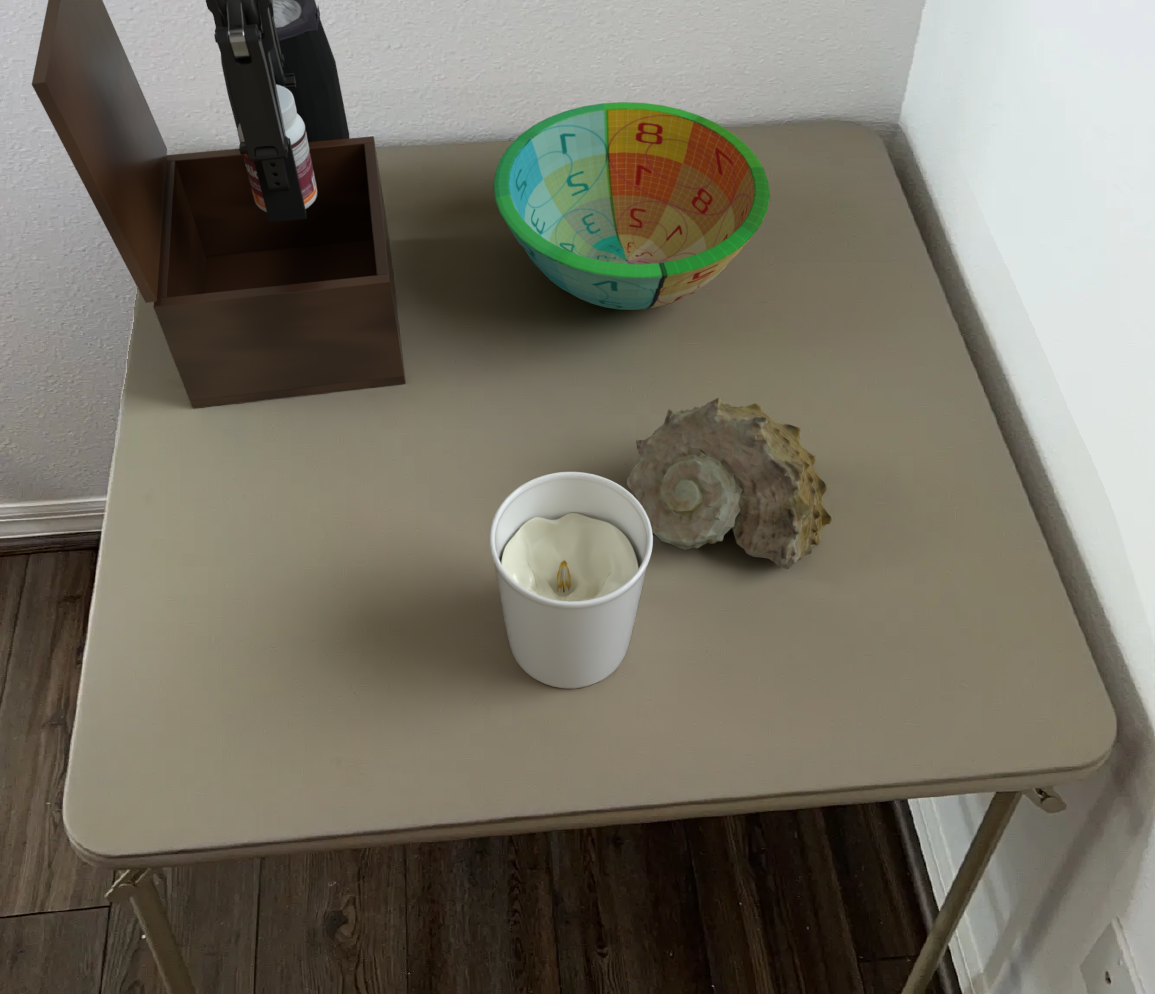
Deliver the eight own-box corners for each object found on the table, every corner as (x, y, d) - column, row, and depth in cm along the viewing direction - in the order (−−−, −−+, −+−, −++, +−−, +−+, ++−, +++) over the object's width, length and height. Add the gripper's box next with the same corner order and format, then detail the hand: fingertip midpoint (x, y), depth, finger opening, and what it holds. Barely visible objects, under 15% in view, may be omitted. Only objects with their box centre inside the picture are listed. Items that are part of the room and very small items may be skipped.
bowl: (498, 195, 106) (494, 101, 98) (736, 192, 106) (751, 98, 98) (498, 370, 92) (492, 277, 84) (770, 365, 93) (789, 272, 85)
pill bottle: (242, 208, 85) (216, 110, 78) (275, 172, 87) (252, 74, 81) (298, 224, 84) (276, 126, 77) (329, 187, 86) (311, 89, 80)
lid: (73, -68, 76) (61, -67, 76) (44, 82, 66) (31, 84, 66) (167, 149, 91) (157, 151, 91) (156, 301, 80) (145, 303, 80)
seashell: (631, 464, 88) (623, 378, 80) (820, 459, 87) (832, 371, 79) (629, 586, 82) (621, 506, 73) (834, 583, 80) (848, 501, 72)
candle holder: (485, 590, 79) (475, 486, 70) (619, 563, 81) (628, 458, 71) (513, 714, 74) (507, 619, 64) (658, 683, 75) (673, 586, 66)
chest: (389, 239, 102) (373, 135, 93) (405, 383, 91) (389, 282, 82) (198, 259, 100) (164, 155, 91) (192, 408, 89) (153, 307, 80)
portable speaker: (262, 177, 107) (212, -24, 91) (362, 173, 107) (329, -27, 92) (253, 237, 101) (199, 34, 86) (359, 232, 102) (323, 30, 86)
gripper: (278, -56, 62) (343, 267, 81) (274, -195, 73) (332, 120, 91) (138, -46, 61) (235, 279, 80) (154, -188, 72) (237, 128, 90)
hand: (287, 193), depth 85 cm, fingers closed on pill bottle, 5 cm apart
